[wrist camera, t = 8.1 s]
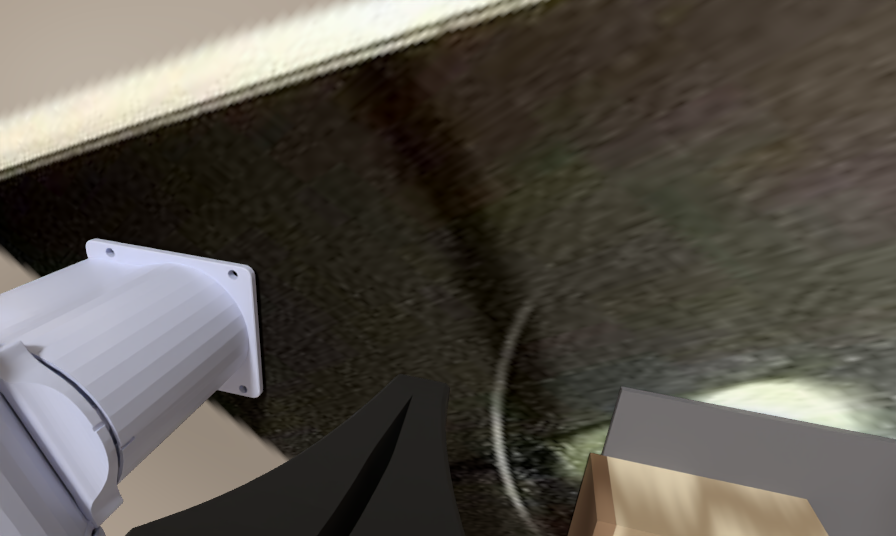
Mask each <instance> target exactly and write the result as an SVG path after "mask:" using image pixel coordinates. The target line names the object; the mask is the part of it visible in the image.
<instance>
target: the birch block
mask: <svg viewBox="0 0 896 536" xmlns="http://www.w3.org/2000/svg"><path fill="white" fill-rule="evenodd" d="M568 536H829V535H828V534H827V532H826V530H825V529H824V527H823V525H822V524H821V522H820V520H819V519H818V517H817V515H816V514H815V512H814V510H813V509H812V507H811V505H810V504H809V502H808V500H807V499H804V498H799V497H794V496H790V495H785V494H780V493H776V492H771V491H766V490H762V489H757V488H752V487H748V486H743V485H738V484H734V483H729V482H724V481H720V480H715V479H710V478H706V477H701V476H696V475H692V474H687V473H682V472H678V471H673V470H668V469H664V468H659V467H654V466H650V465H645V464H640V463H636V462H631V461H626V460H622V459H617V458H612V457H608V456H603V455H598V454H594V453H590V457H589V460H588V464H587V468H586V471H585V475H584V478H583V482H582V486H581V489H580V493H579V496H578V500H577V504H576V507H575V511H574V514H573V518H572V522H571V525H570V529H569V533H568Z"/></svg>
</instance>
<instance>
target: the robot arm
mask: <svg viewBox="0 0 896 536" xmlns="http://www.w3.org/2000/svg"><path fill="white" fill-rule="evenodd" d="M86 251H87V255H88V259H86V260H83V261H81V262H79V263H76V264H74V265H71V266H69V267H66V268H64V269H61V270H59V271H56V272H54V273H51V274H49V275H46V276H44V277H41V278H39V279H36V280H34V281H31V282H29V283H26V284H24V285H22V286H19V287H16V288H14V289H12V290H9V291H7V292H4V293H2V294H0V536H105V533H104V531H103V529H102V528H101V526H100V525H101V524H102V523H103V522H104V521H105V520H106V519H107V518H108V517H109V516H110V515H111V514H112V513H113V512H114V511H115V510H116V509H117V508H118V507H119V506H120V505H121V504H122V503H123V499H122V497H121V495H120V493H119V490H118V488H117V485H118V484H119V483H120V482H121V481H122V480H123V479H124V478H125V477H126V476H127V475H128V474H129V473H130V472H131V471H132V470H133V469H134V468H135V467H137V465H139V464H140V463H141V462H142V461H143V460H144V459H145V458H146V457H147V456H148V455H149V454H150V453H151V452H152V451H153V450H154V449H155V448H156V447H158V446H159V444H161V443H162V442H163V441H164V440H165V439H166V438H167V437H168V436H169V435H170V434H171V433H172V432H173V431H174V430H175V429H177V428H178V427H179V426H180V425H181V424H182V423H183V422H184V421H185V420H186V419H187V418H188V417H189V416H190V415H191V414H192V413H193V412H194V411H195V410H196V409H197V408H199V406H201V405H202V404H203V403H204V402H205V401H206V400H207V399H208V398H209V397H210V396H211V395H212V394H213V393H214V392H215V391H216V390H219V391H224V392H229V393H233V394H238V395H242V396H247V397H251V398H257V397H259V395H260V394H261V393H262V392H263V380H262V366H261V352H260V338H259V323H258V309H257V295H256V281H255V273H254V271H253V269H252V268H251V267H249V266H247V265H243V264H238V263H232V262H227V261H221V260H215V259H210V258H204V257H198V256H193V255H187V254H181V253H176V252H170V251H164V250H159V249H153V248H148V247H142V246H136V245H131V244H125V243H119V242H114V241H108V240H102V239H92V240H89V241H88V242H87V243H86ZM113 251H114V252H113ZM233 271H235V272H236V273H237V275H238V277H237V276H235V275H234V273H233ZM244 386H245V387H246V388H245V387H244ZM449 392H450V388H449V386H448V385H447V384H446V383H442V382H437V381H432V380H427V379H422V378H417V377H413V376H408V375H403V374H399V375H398V376H396V377H395V378H394V379H393V380H392V381H391V382H390V383H389V384H388V385H387V386H385V387H384V388H383V389H382V390H381V391H380V392H379V393H378V394H377V395H376V396H375V397H373V398H372V399H371V400H370V401H369V402H368V403H367V404H365V405H364V406H363V407H362V408H361V409H360V410H358V411H357V412H356V413H355V414H354V415H352V416H351V417H350V418H349V419H347V420H346V421H345V422H344V423H342V424H341V425H340V426H338V427H337V428H336V429H334V430H333V431H332V432H330V433H329V434H328V435H326V436H325V437H324V438H322V439H321V440H320V441H318V442H317V443H315V444H314V445H312V446H311V447H309V448H308V449H306V450H305V451H303V452H302V453H300V454H298V455H297V456H295V457H294V458H292V459H290V460H289V461H287V462H285V463H284V464H282V465H280V466H278V467H277V468H275V469H273V470H271V471H269V472H268V473H266V474H264V475H262V476H260V477H258V478H256V479H254V480H252V481H250V482H249V483H247V484H245V485H242V486H240V487H238V488H236V489H234V490H232V491H229V492H227V493H225V494H223V495H221V496H218V497H216V498H213V499H211V500H209V501H206V502H204V503H202V504H199V505H197V506H194V507H191V508H189V509H186V510H184V511H181V512H178V513H175V514H172V515H169V516H167V517H164V518H161V519H158V520H155V521H153V522H150V523H147V524H144V525H141V526H138V527H135V528H132V529H131V530H130V531H129V532H128V533H127V534H126V535H125V536H466V535H465V532H464V529H463V526H462V522H461V519H460V515H459V511H458V507H457V503H456V499H455V495H454V490H453V485H452V480H451V475H450V468H449V462H448V455H447V446H446V432H445V426H446V417H447V409H448V400H449Z"/></svg>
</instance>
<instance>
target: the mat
mask: <svg viewBox="0 0 896 536" xmlns="http://www.w3.org/2000/svg"><path fill="white" fill-rule="evenodd" d="M601 455H603V456H608V457H612V458H617V459H622V460H626V461H631V462H636V463H640V464H645V465H650V466H654V467H659V468H664V469H668V470H673V471H678V472H682V473H687V474H692V475H696V476H701V477H706V478H710V479H715V480H720V481H724V482H729V483H734V484H738V485H743V486H748V487H752V488H757V489H762V490H766V491H771V492H776V493H780V494H785V495H790V496H794V497H799V498H804V499H807V500H808V502H809V504H810V505H811V507H812V509H813V510H814V512H815V514H816V515H817V517H818V519H819V520H820V522H821V524H822V525H823V527H824V529H825V530H826V532H827V534H828V535H829V536H896V440H895V439H890V438H885V437H880V436H875V435H870V434H864V433H859V432H854V431H849V430H844V429H839V428H833V427H828V426H823V425H818V424H813V423H808V422H802V421H797V420H792V419H787V418H782V417H777V416H771V415H766V414H761V413H756V412H751V411H746V410H740V409H735V408H730V407H725V406H720V405H715V404H709V403H704V402H699V401H694V400H689V399H684V398H678V397H673V396H668V395H663V394H658V393H652V392H647V391H642V390H637V389H632V388H627V387H621V389H620V392H619V396H618V399H617V403H616V406H615V410H614V413H613V416H612V420H611V423H610V427H609V430H608V434H607V437H606V441H605V444H604V448H603V451H602V454H601Z"/></svg>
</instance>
